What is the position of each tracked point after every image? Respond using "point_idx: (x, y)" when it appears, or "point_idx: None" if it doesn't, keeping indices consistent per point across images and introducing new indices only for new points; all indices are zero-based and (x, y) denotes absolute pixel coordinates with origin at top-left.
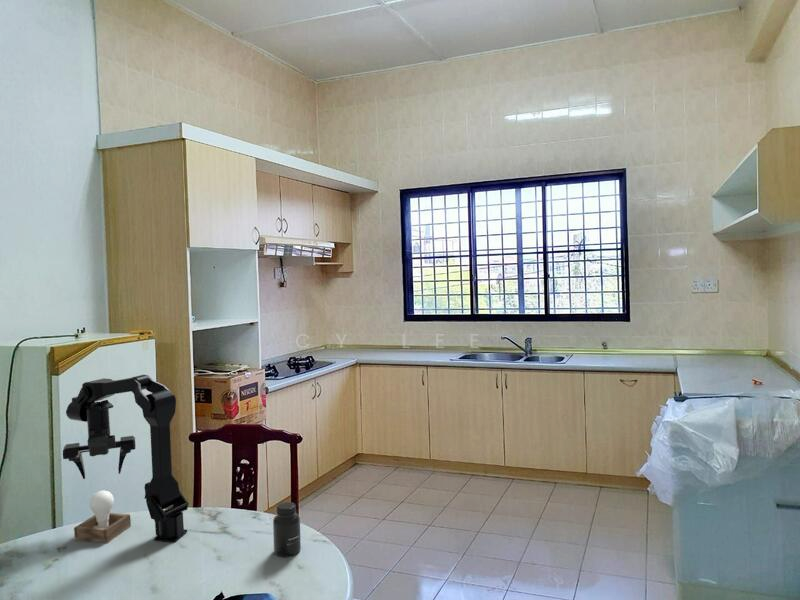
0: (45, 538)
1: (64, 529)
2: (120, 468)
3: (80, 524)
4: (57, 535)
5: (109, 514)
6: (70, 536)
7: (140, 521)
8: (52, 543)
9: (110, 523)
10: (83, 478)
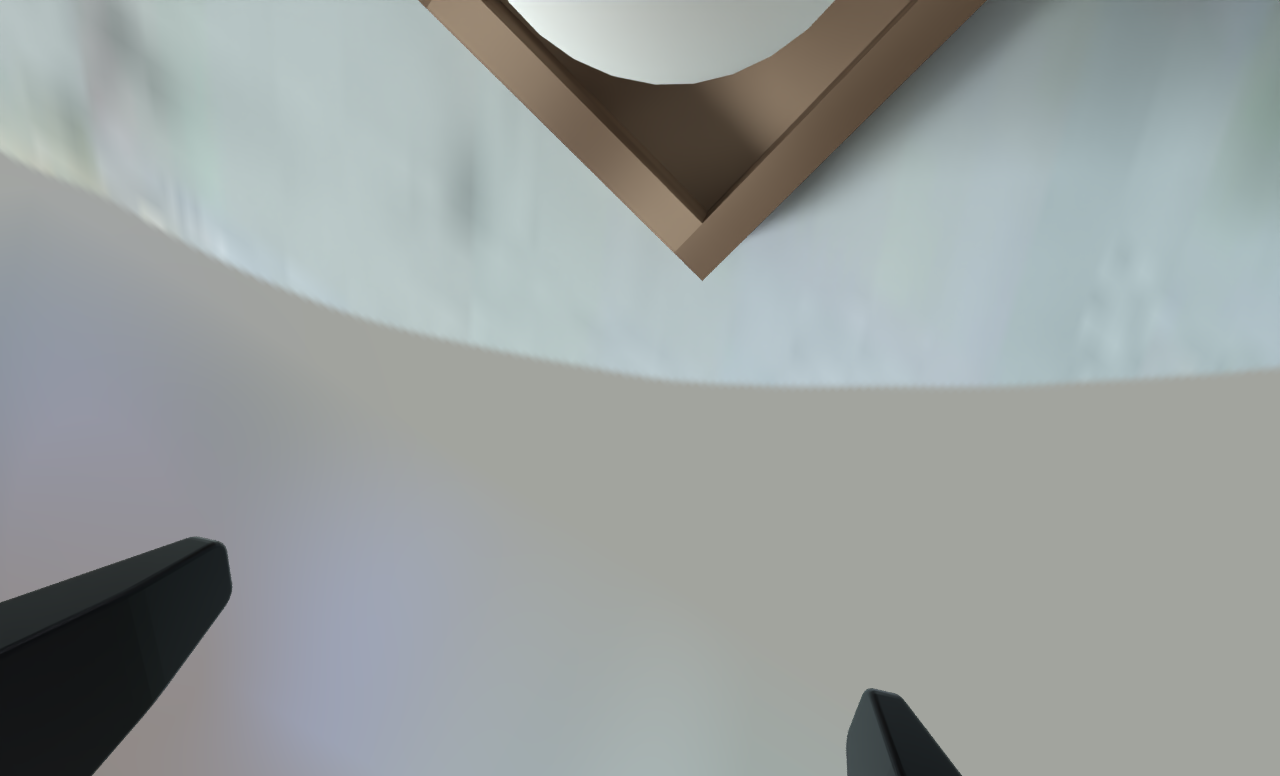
0: (1222, 222)
1: (1003, 335)
2: (68, 590)
3: (964, 3)
4: (1102, 227)
5: (607, 137)
6: (1007, 115)
7: (373, 85)
8: (1219, 28)
9: (623, 120)
10: (902, 700)
